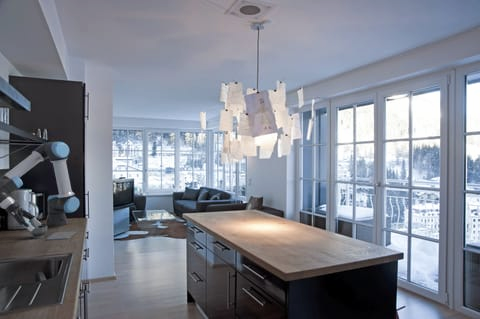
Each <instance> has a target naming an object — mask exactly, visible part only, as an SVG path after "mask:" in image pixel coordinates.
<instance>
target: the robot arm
mask: <svg viewBox="0 0 480 319" xmlns="http://www.w3.org/2000/svg"><path fill="white" fill-rule="evenodd" d="M69 154H70V147H69V146H68V144H66V143H65V142H63V141H48V142H45V143H43V144H41V145H40V146H38V147H37V148H35V149H34V150H33V151H32V152H31V153H30V155H28V156H27V157H26V158H24V159H23V160H22V161H21V162H19V163H18V164H17V165H15V166H14V167H13V168H12V169H10V170H9V171H8V172H6V173H5V174H3V176H1V177H0V208H1V209H4V210H5V212H7V213H8V214H10V215H11V216H12V217H13V218H14V219H15V221H16V222H17V223H18V224H19V225H20V226H24V227H25V229H27V230H28V231H29V232H30V231H32V230H33V229H34V227H33V226H32V225H31V223H30V222H29V221H27V220H31V219H34V221H35V223H36V225H37V226H40V225H42V223H41V222H40V221H39V220H38V219H37V218H36V216H35V215H33V214H32V213H30V212H29V211H27V210H26V209H24V208H23V207H20V206H21V205H20V204H19V203H18V202H17V201H15V199H14V198H13V197H11V196H10V195H11V194H12V193H14V192H15V191H16V190H18V189H20V188H21V187H22V186H23V185H24V183H23V181H22V179H21V177H22V176H23V175H25V174H26V173H27V172H29V170H31V169H32V168H34V167H35V166H36V165H37V164H39V163H40V162H44V161H45V160H47V159H49V162H50V163H51V164H52V165H53V170H54V174H55V179H56V186H57V190H58V194H54V195H49V196H48V197H47V216H46V220H45V224H44V225H46V226H47V227H57V226H64V225H68V219H67V216H66V213H67V214H69V213H74V212H76V211H78V208H79V207H80V200H79V198H77V197H76V195H75V192H73V190H72V187H71V186H72V185H71V180H70V175H69V171H68V165H67V160H68V157H69ZM25 219H27V220H25Z"/></svg>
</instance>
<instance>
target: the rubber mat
mask: <svg viewBox="0 0 480 319" xmlns="http://www.w3.org/2000/svg"><path fill="white" fill-rule="evenodd" d="M75 233H76V231H61V232H60V231H59V232H56V231H55V232H53V233H51V235H50V236H48V237H47V238H46V239H45V241H55V240H69V239H70V238H71V237H73V235H74V234H75Z"/></svg>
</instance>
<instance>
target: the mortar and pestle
mask: <svg viewBox="0 0 480 319" xmlns="http://www.w3.org/2000/svg"><path fill="white" fill-rule="evenodd" d="M28 220H29V219H28ZM28 223H29V224H30V225H32V226H33V227H34V229H33V230H32V231H30V230H29V233H30V234H31V235H32V238H33V239H36V240H37V239H42V238H44V237H45V235H46V233H47V231H48V226H46V225H45V224H44V225H42V224H41V225H40V226H37V225H36V223H35V221H34V219H31V220H29V221H28Z"/></svg>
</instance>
